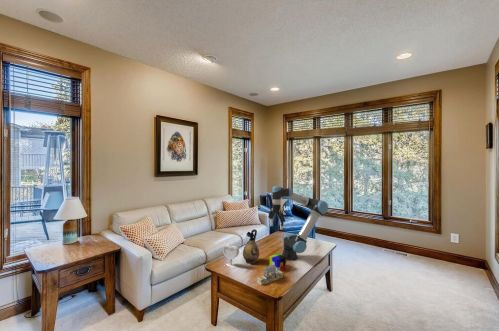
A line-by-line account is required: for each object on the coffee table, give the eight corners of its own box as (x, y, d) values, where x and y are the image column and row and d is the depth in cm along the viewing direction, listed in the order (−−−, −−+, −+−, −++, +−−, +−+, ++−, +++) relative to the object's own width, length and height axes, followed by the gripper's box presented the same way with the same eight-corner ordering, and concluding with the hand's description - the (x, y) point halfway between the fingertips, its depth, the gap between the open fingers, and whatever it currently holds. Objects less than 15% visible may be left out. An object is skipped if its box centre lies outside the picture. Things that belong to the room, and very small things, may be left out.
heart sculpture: (222, 264, 214) (222, 244, 213) (225, 262, 218) (225, 243, 218) (236, 268, 206) (236, 248, 205) (239, 266, 210) (239, 246, 210)
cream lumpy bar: (278, 275, 194) (278, 270, 194) (282, 277, 190) (282, 272, 190) (257, 282, 182) (257, 277, 182) (260, 285, 178) (260, 280, 178)
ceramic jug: (251, 266, 210) (251, 233, 209) (239, 261, 220) (239, 229, 220) (263, 261, 222) (263, 229, 222) (251, 256, 233) (252, 226, 232)
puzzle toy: (277, 271, 201) (277, 259, 200) (269, 267, 209) (269, 256, 208) (285, 268, 206) (285, 257, 206) (277, 264, 214) (277, 253, 214)
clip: (273, 276, 190) (273, 264, 190) (275, 277, 187) (275, 266, 187) (264, 279, 185) (264, 267, 185) (266, 281, 182) (266, 268, 182)
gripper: (264, 202, 218) (264, 225, 218) (282, 206, 198) (282, 231, 198) (270, 201, 222) (270, 224, 223) (289, 205, 202) (289, 230, 202)
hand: (276, 227), depth 210 cm, fingers open, 13 cm apart
